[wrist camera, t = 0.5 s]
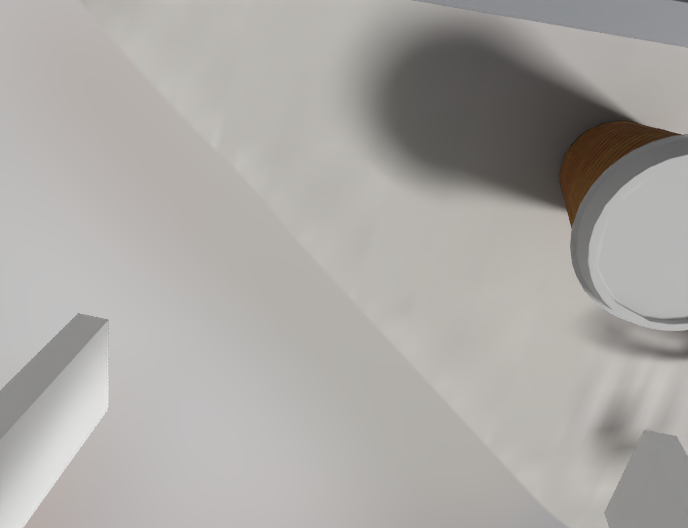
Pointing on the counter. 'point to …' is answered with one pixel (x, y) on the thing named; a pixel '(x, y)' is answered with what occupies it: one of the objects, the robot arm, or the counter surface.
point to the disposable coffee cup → (630, 221)
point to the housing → (595, 15)
